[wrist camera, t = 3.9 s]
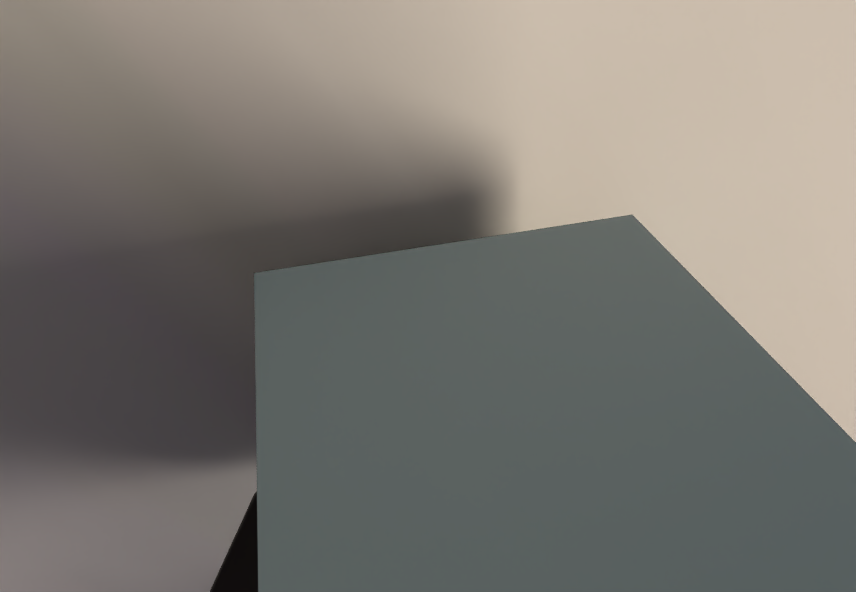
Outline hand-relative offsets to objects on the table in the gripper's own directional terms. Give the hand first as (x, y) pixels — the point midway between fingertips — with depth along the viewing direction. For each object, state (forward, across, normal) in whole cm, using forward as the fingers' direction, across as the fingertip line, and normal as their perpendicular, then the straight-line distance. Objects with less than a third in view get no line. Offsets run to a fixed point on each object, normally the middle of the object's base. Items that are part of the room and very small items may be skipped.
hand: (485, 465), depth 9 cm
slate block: (+2, 0, 0) cm, 2 cm away
